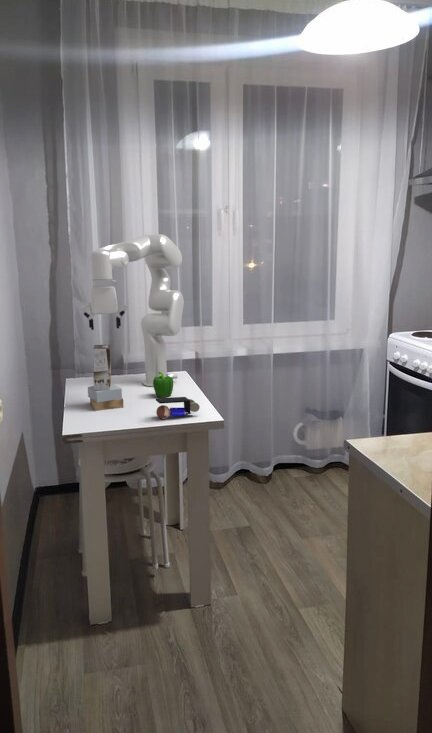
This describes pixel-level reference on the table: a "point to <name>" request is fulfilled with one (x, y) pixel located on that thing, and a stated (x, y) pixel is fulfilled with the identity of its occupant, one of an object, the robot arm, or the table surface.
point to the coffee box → (102, 367)
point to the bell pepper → (163, 385)
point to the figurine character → (164, 411)
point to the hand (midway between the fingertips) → (105, 328)
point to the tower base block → (107, 404)
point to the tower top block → (105, 393)
